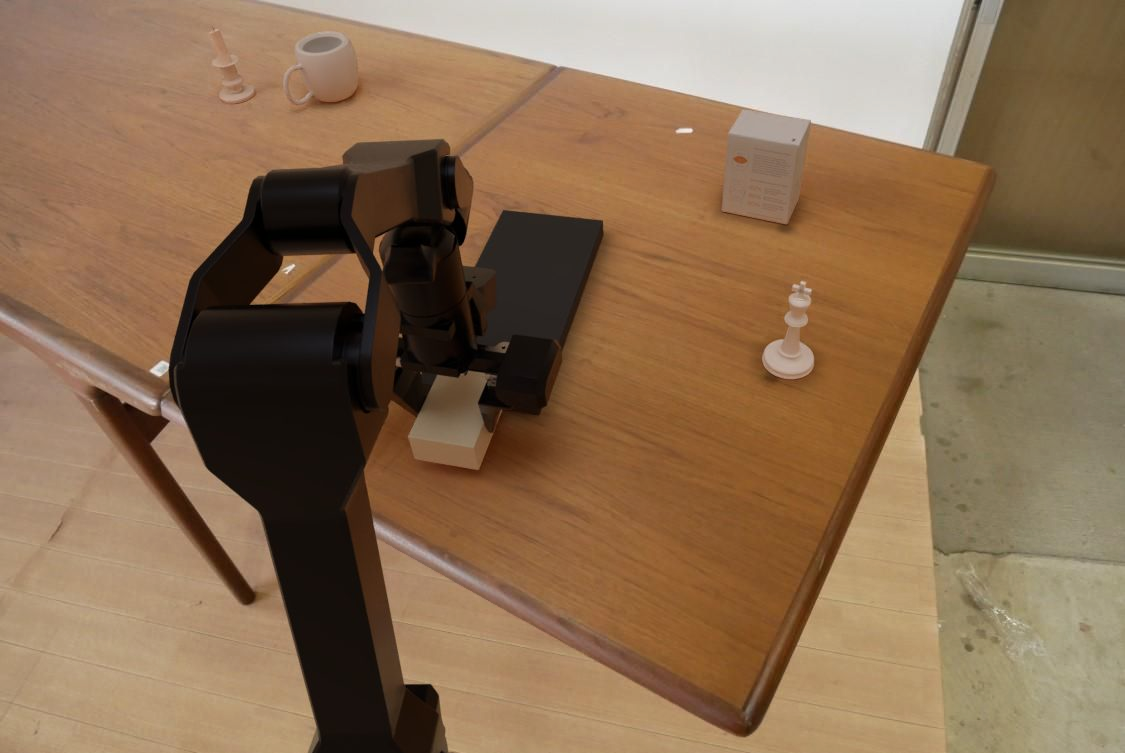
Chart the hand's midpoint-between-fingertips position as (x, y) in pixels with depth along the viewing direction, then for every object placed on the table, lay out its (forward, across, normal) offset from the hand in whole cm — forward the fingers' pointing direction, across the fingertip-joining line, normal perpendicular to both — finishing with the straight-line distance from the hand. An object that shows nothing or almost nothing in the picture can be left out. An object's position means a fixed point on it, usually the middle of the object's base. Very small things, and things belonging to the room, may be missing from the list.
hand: (459, 423), depth 75 cm
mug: (+3, +41, -57) cm, 70 cm away
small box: (+3, -23, -41) cm, 47 cm away
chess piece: (+3, -28, -16) cm, 32 cm away
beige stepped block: (+1, 0, -2) cm, 2 cm away
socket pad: (+3, 0, -19) cm, 19 cm away
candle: (+3, +55, -56) cm, 79 cm away
